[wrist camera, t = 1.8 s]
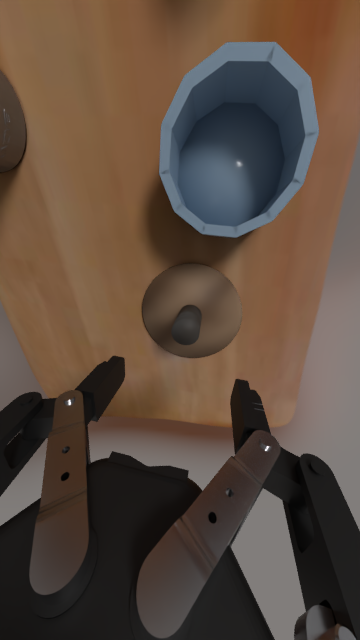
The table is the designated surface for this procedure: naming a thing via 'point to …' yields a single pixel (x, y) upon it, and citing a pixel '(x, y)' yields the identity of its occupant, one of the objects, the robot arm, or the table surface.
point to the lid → (192, 310)
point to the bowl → (238, 138)
